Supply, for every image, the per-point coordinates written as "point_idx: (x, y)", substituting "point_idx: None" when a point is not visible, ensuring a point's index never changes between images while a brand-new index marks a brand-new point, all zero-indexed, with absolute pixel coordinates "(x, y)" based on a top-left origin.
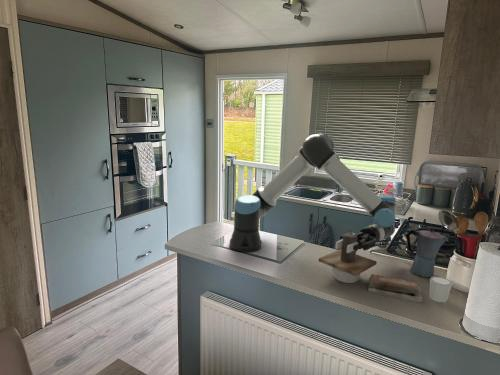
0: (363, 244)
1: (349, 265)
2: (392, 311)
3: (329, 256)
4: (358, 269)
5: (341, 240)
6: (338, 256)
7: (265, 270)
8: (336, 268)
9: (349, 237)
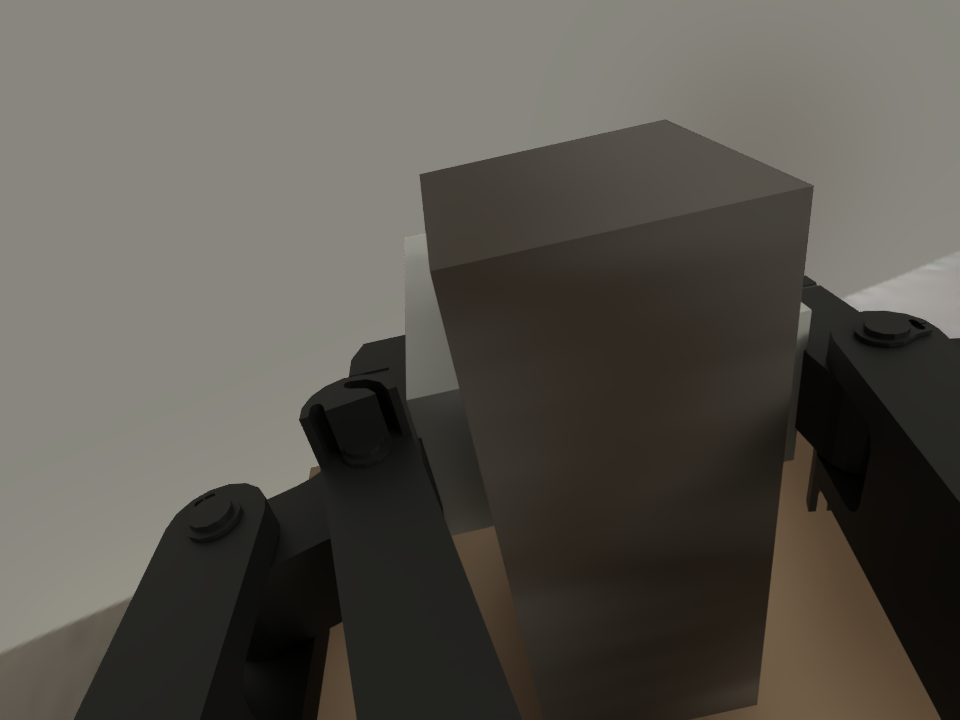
0: (286, 537)
1: None
2: (28, 652)
3: None
4: None
5: None
6: (810, 594)
7: (927, 298)
8: None
9: (498, 163)
